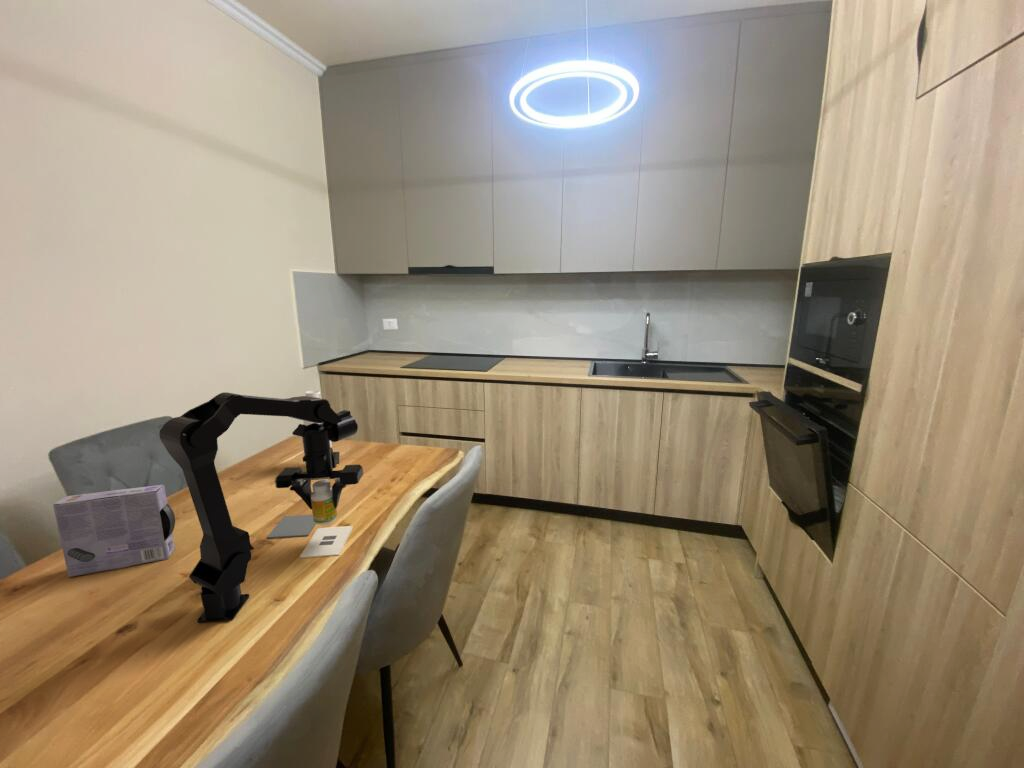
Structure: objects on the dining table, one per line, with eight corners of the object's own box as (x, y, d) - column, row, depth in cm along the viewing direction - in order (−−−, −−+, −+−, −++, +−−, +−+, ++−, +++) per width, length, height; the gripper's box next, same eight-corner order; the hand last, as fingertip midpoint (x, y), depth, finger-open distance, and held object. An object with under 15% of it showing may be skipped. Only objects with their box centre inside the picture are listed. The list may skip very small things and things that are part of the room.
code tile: (339, 555, 97) (339, 554, 97) (299, 558, 96) (299, 556, 96) (353, 526, 108) (353, 525, 108) (318, 529, 107) (317, 528, 107)
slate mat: (307, 536, 104) (307, 534, 104) (266, 538, 103) (266, 537, 103) (321, 515, 114) (321, 513, 114) (284, 517, 113) (283, 516, 113)
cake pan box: (182, 546, 100) (168, 481, 96) (174, 558, 96) (159, 490, 92) (81, 565, 94) (61, 495, 90) (67, 579, 89) (46, 506, 85)
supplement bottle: (328, 526, 98) (324, 489, 95) (308, 524, 99) (304, 487, 96) (341, 514, 103) (338, 479, 101) (323, 512, 104) (318, 477, 102)
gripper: (365, 435, 105) (370, 490, 109) (290, 438, 103) (298, 493, 107) (354, 451, 94) (360, 512, 98) (269, 455, 93) (278, 516, 96)
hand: (324, 507), depth 100 cm, fingers closed on supplement bottle, 5 cm apart
